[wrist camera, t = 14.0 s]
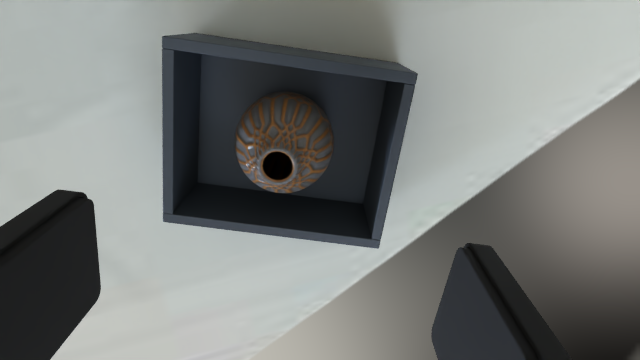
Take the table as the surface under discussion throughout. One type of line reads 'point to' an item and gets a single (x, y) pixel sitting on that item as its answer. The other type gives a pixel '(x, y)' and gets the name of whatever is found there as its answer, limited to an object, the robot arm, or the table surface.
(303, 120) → the vase
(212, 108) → the dark grey open box
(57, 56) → the table surface
